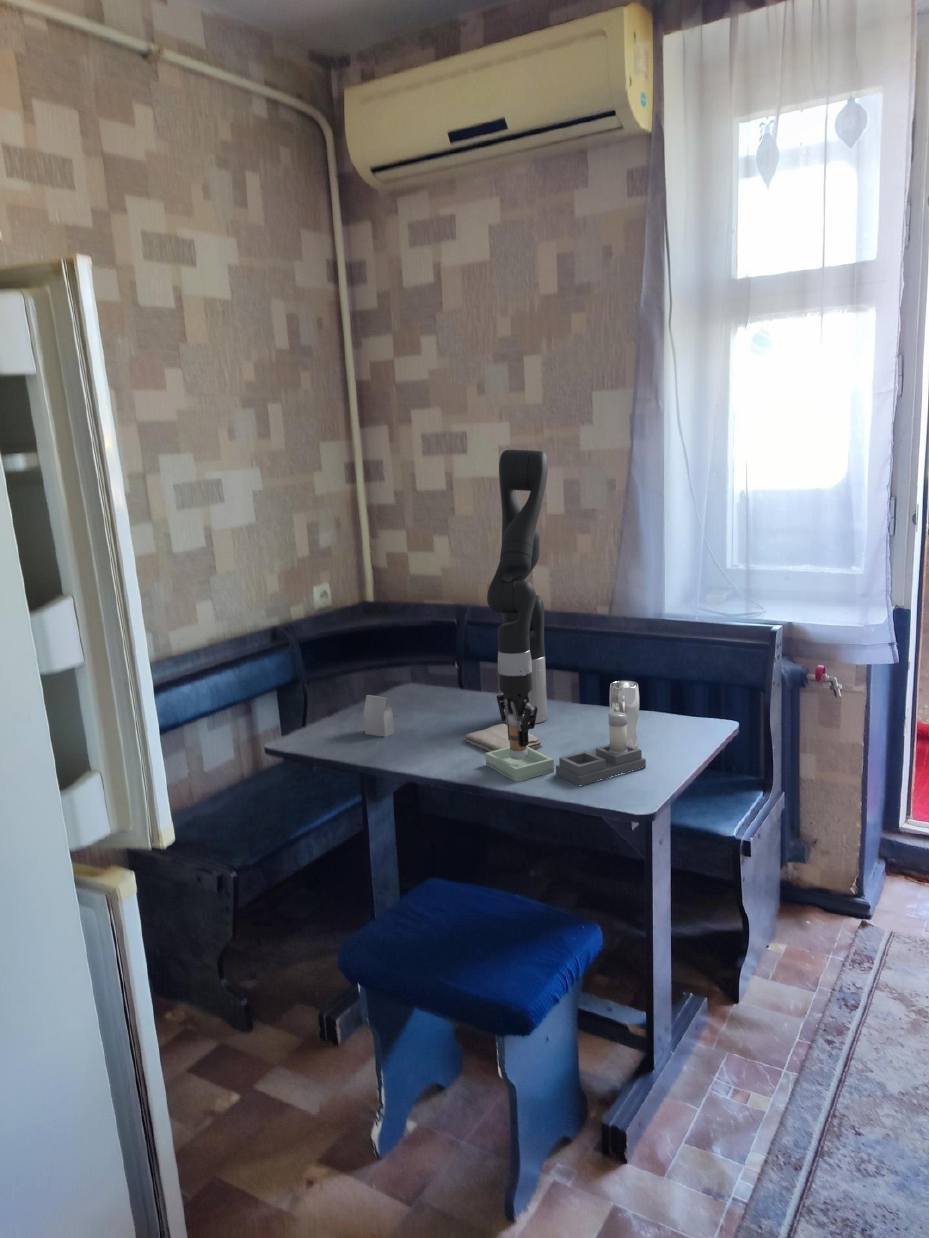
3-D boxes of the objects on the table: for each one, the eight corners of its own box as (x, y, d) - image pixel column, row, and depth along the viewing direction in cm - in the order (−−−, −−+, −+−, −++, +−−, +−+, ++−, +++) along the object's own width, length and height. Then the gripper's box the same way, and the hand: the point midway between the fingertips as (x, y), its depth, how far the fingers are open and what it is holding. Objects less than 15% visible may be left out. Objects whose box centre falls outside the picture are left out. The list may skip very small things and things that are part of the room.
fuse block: (556, 773, 201) (555, 756, 200) (620, 756, 210) (619, 739, 209) (580, 786, 193) (579, 768, 193) (645, 767, 202) (645, 750, 201)
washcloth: (507, 761, 212) (506, 748, 212) (462, 742, 227) (461, 731, 226) (545, 749, 219) (545, 736, 218) (500, 732, 233) (499, 720, 233)
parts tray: (486, 764, 209) (485, 752, 209) (522, 755, 214) (522, 743, 213) (516, 781, 198) (515, 769, 197) (554, 771, 203) (553, 759, 202)
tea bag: (385, 737, 233) (382, 699, 231) (365, 733, 237) (362, 696, 235) (394, 732, 236) (391, 696, 234) (374, 729, 240) (371, 693, 238)
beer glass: (618, 751, 213) (616, 689, 210) (605, 742, 220) (604, 682, 217) (645, 747, 215) (644, 686, 212) (632, 738, 221) (631, 679, 218)
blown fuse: (506, 756, 206) (504, 713, 204) (521, 752, 208) (519, 710, 206) (516, 760, 203) (514, 718, 201) (531, 757, 205) (529, 714, 203)
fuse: (605, 756, 204) (604, 714, 202) (619, 753, 206) (619, 711, 204) (617, 761, 201) (616, 718, 199) (631, 757, 203) (630, 715, 201)
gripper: (484, 666, 206) (488, 738, 209) (517, 679, 194) (521, 755, 197) (512, 661, 209) (515, 732, 213) (547, 673, 197) (550, 748, 200)
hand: (518, 742), depth 205 cm, fingers closed on blown fuse, 3 cm apart
